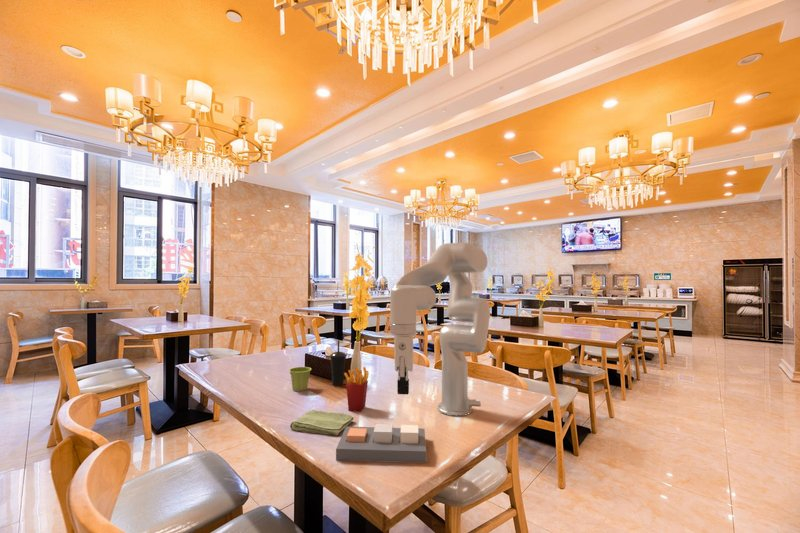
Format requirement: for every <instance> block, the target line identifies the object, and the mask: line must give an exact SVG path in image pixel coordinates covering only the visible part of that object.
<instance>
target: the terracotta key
mask: <svg viewBox="0 0 800 533" xmlns="http://www.w3.org/2000/svg"><path fill="white" fill-rule="evenodd" d="M366 439H367V428H350V430H349V432H348V434H347V442H366Z"/></svg>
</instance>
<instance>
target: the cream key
mask: <svg viewBox="0 0 800 533" xmlns="http://www.w3.org/2000/svg"><path fill="white" fill-rule="evenodd" d="M400 428H401V432H400V443H413V444H418V428H419V425H417V424H414V425H413V424H400Z"/></svg>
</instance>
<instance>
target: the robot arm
mask: <svg viewBox="0 0 800 533" xmlns="http://www.w3.org/2000/svg"><path fill="white" fill-rule="evenodd" d="M486 268H488V257H487V255H486V253H485V251H484V250H483V249H481V248H480V247H478V246H476V245H475V244H473V243H469V242H448V243H443V244H441V245H439V246H438V247H437V248H436V250H434V252H433V254H432V255H431V256H430V258H429V259H428V260H427V261H426V263H424V264H422V265H421V266H418V267H416V268H414V269H412V270H410V271H409V272H407V273H405V274H404V275H403V276H401V277H400V278H399V279H398V281H397V282H396V283H395V284H394V286H393V287H392V288H391V290H390V293H389V294H390V296H389V297H390V298H389V299H390V303H389V304H390V305H389V306H390V309H389V310H390V313H389V314H390V315H389V316H390V318H389V319H390V320H389V323H390V324H389V326H390V328H389V329H390V333H389V334H390V336H393V337H394V338H393V341H394V343H393V345H394V346H393V349H394V357H393V358H394V370H395V371H396V372H397V388H396V390H397V391H396V392H397V394H398V395H409V394H410V392H409V391H410V387H409V386H410V379H409V372H410V373H411V372H413V371H414V370H413V369H414V337H413V336H416V335H417V311H427V310H429V309H432V308H433V307H435V306H434V305H435V304H436V303H437V294H436V292H435V290H434V288H432V286H435V285H438V284H441V283H443V282H444V281H445V280H446V279H447V278H448V279H449V284H450V285H449V286H450V288H449V296H448V303H447V311H446V312H447V317H448V318H449V320H451V321H454V322H461V323H471V324H472V323H473V325H466V324H465V325H464V324H453V323H451V324H445V325H444V326H442V327H441V328H440V331H439V335H438V336H439V344H440V350H441V402H439V403H438V405H437V410H438V411H439V412H440V413H441V414H443V413H444V415H446V414H447V416H452V415H456V416H455V417H458V416H457V415H463V416H466V415H465V414H467V415H469V414H468V413H470V412H471V413H472V412H473V411H472V409H473V408H472V407H481V401H480V400H476V399H474V398H472V399H470V398H469V397H468V380H469V379H468V375H469V374H468V364H469V363H468V360H467V358H466V356H465V353H473V354H481V353H483V352H484V351H485V349H486V347H487V343H488V342H487V341H488V333H489V323H490V315H491V314H490V313H491V312H490V310H491V309H490V305H489V302H488V301H487V300H486V299H485V298H483V297H473V296H472V295H473V283H472V282H471V280H470V279H469V277H468V276H467V275H466V274H468V273H470V274H471V273H473V274H474V273H476V274H477V273H482V272H484V271H485V270H486ZM464 352H465V353H464ZM471 413H470V414H471Z"/></svg>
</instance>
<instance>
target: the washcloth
mask: <svg viewBox="0 0 800 533" xmlns="http://www.w3.org/2000/svg"><path fill="white" fill-rule="evenodd" d="M354 419H355V418H354V416H352V415H350V414H346V413H343V412H341V413H340V412H328V411H324V410H323V411H322V410H316V409H312V410H308V411H306V412H305V413H304V414H302V415H301V417H298V418H296V419H294V420H293V421H291V422H290V424H289V427H290V430H293V431H295V432H296V431H297V432H302V433H309V434H322V435H331V436H337V437H338V435H339V434H340V433H341V432H342V431H344V430H345V428H346V427H349V424H350V423H351V422H352V421H353V420H354Z"/></svg>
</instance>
